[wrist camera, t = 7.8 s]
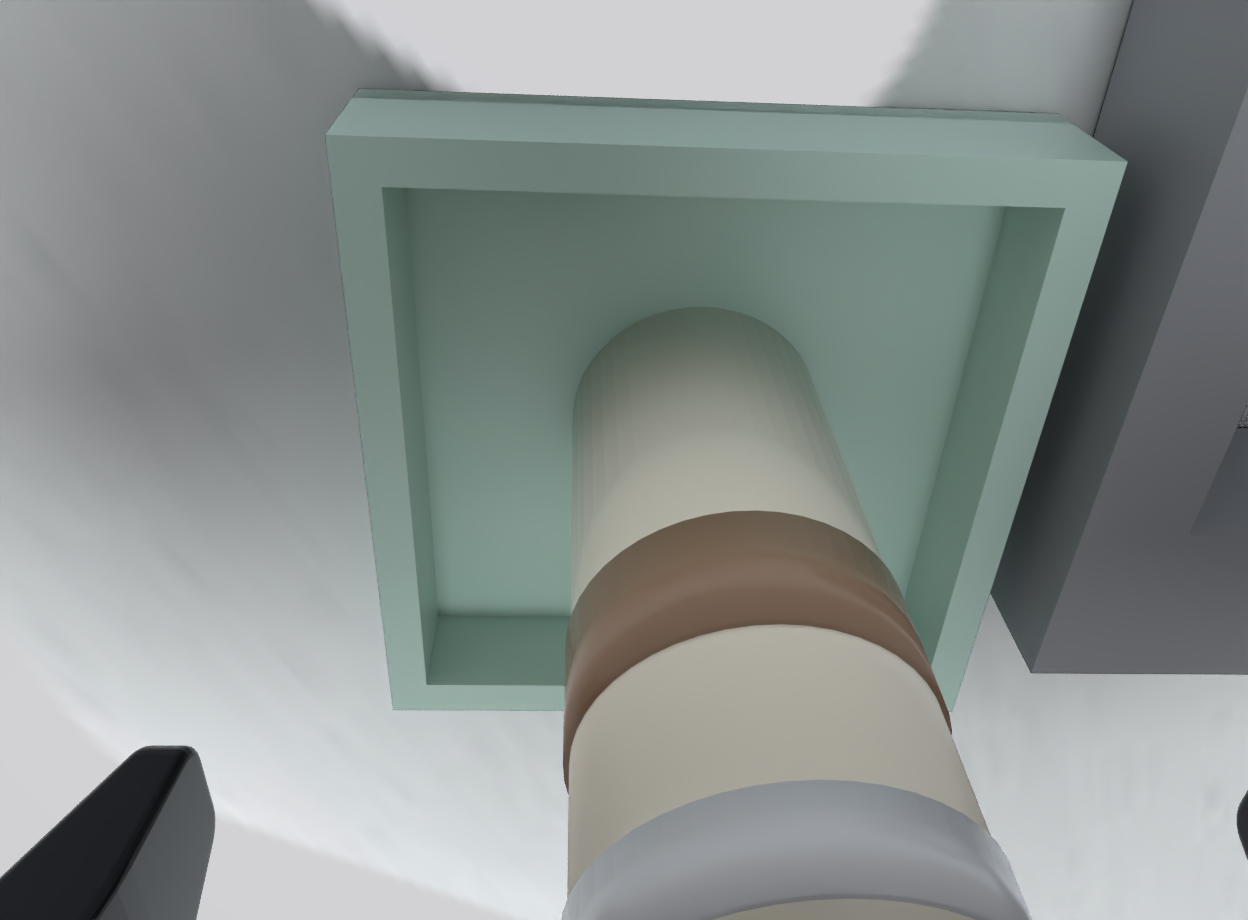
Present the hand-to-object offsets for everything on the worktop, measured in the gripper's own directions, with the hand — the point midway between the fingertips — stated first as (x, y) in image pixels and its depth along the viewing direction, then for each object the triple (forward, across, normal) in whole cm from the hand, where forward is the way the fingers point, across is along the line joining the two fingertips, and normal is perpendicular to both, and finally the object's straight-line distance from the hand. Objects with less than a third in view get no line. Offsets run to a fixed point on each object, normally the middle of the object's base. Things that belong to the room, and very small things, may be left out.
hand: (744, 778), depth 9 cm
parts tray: (+6, 0, 0) cm, 6 cm away
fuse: (+6, 0, 0) cm, 6 cm away
